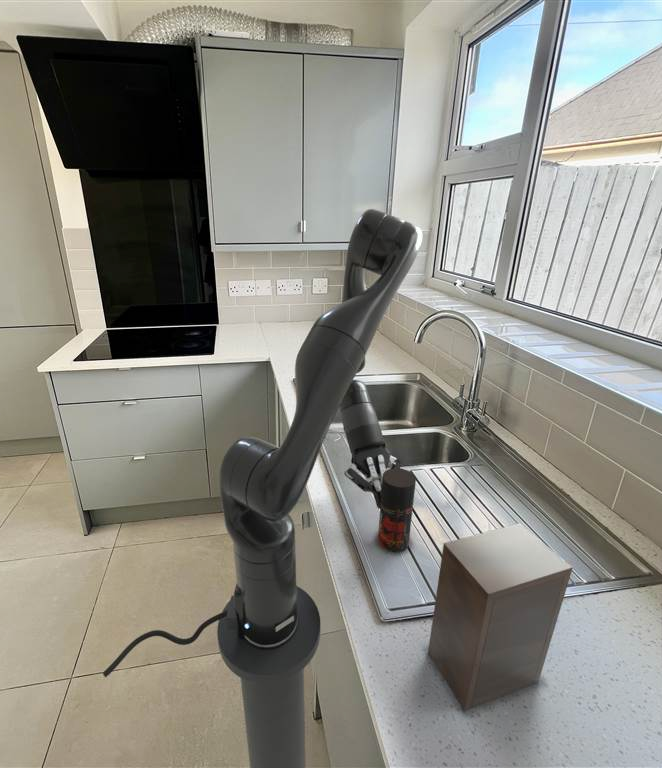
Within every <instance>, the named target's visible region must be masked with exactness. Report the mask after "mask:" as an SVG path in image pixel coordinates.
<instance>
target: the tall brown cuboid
mask: <svg viewBox="0 0 662 768" xmlns="http://www.w3.org/2000/svg"><path fill="white" fill-rule="evenodd" d="M572 572H573V566H571V565H570V564H569V563H568V562H567V561H566V560H564V559H563V558H562V557H561V556H560V555H559V554H557V553H556V552H555V551H554V550H553V549H551V548H550V547H549V546H548V545H547V544H545V543H544V542H543V541H542V540H541V539H539V537H537V536H535V534H534V533H533V532H531V531H530V530H529V529H528V528H526V527H525V526H524V525H523V524H521V522H518V523H515V524H514V523H513V524H511V525H506V526H504V527H499V528H496V529H492V530H488V531H485V532H480V533H477V534H473V535H470V536H466V537H462V538H459V539H454V540H451V541H448V542H444V543H443V547H442V554H441V560H440V567H439V573H438V575H439V576H438V579H437V580H438V581H437V587H436V593H435V594H436V595H435V602H434V608H433V616H432V623H431V629H430V635H429V643H428V650H427V653H428V655H429V657H430V658H431V660H432V661H433V663H434V665H435V666H436V668H437V670H438V671H439V673H440V674H441V676H442V678H443V679H444V681H445V682H446V684H447V686H448V687H449V689H450V691H451V692H452V694H453V696H454V697H455V699H456V700H457V702H458V704H459V705H460V707H461V708H462V710H463V712H466V711H468V710H472V709H473V708H476V707H479V706H481V705H484V704H485V703H488V702H492V701H494V700H496V699H498V698H502V697H503V696H506V695H509V694H511V693H514V692H516V691H518V690H520V689H523V688H525V687H526V688H527V687H528V686H530V685H533V684H536V683H538V682H539V681H540V678H541V674H542V671H543V668H544V665H545V662H546V658H547V655H548V652H549V648H550V645H551V642H552V638H553V635H554V632H555V628H556V625H557V621H558V618H559V616H560V611H561V608H562V605H563V602H564V599H565V596H566V592H567V589H568V585H569V581H570V578H571V575H572Z"/></svg>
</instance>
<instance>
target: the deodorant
mask: <svg viewBox="0 0 662 768" xmlns="http://www.w3.org/2000/svg"><path fill="white" fill-rule="evenodd" d="M416 482H417V478H416V475H414V473H412V472H411V471H410V470H408V469H404V468H401V467H400V468H392V469H390V468H389V469H386V471H385V472H384V473H383V478H382V491H381V504H380V509H379V519H378V532H377V533H378V534H377V542H378V544H379V546H380V547H381V548H382V549H383V550H385V551H386V552H389V553H394V554H399V553H403V552H405V551H407V549H408V548H409V545H410V544H409V543H410V537H411V536H410V535H411V527H412V517H413V508H414V500H415V493H416Z"/></svg>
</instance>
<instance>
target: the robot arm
mask: <svg viewBox="0 0 662 768" xmlns="http://www.w3.org/2000/svg"><path fill="white" fill-rule="evenodd" d="M422 243H423V232H422V230H421V228H420V227H418V226H417V225H415V224H413V223H411V222H409V221H407V220H404V219H402V218H399V217H397V216H394V215H392V214H388V213H387V212H383V211H381V210H377V209H374V208H369V209H366V210H365V211H363V213H362V214H361V215H360V216H359V218H358V220H357V222H356V223H355V226H354V227H353V230H352V232H351V234H350V238H349V242H348V246H347V250H346V251H347V252H346V260H345V265H344V266H345V267H344V268H345V269H344V275H343V285H342V286H343V287H342V295H341V303H339V304H337V305H335V306H334V307H332V308H330V309H329V310H327V311H326V312H324V313H323V314H321V315H320V316H319V317H318V318H317V319H316V320H315V322H314V323H313V325H312V326H311V328H310V330H309V331H308V334H307V335H306V337H305V339H304V341H303V343H302V344H301V346H300V349H299V350H298V352H297V355H296V358H295V363H294V364H295V365H294V381H295V382H294V383H295V384H294V385H295V399H296V400H295V412H294V416H293V419H292V422H291V425H290V427H289V429H288V432H287V434H286V435H285V437H284V439H283V442H282V443H281V445H280V446H278V445H275V444H273V443H271V442H269V441H266V440H264V439H261V438H258V437H254V436H246V437H242V438H240V439H238V440H236V441H235V442H233V444H231V445H230V446H229V447H228V449H227V450H226V451H225V454H224V455H223V458H222V460H221V463H220V467H219V472H218V489H219V496H220V502H221V509H222V514H223V521H224V526H225V529H226V531H227V534H228V535H229V537H230V539H231V541H232V547H233V559H234V567H235V576H236V577H235V578H236V584H235V587H234V591H233V595H231V596H230V599H229V601H230V604H229V607H228V610H226V611H224V612H222V611H221V612H220V613H218V614H216V615H213V616H212V617H210V618H208V619H207V620H205V621H204V622H202V624H200V625H199V626H198V628H197V629H196V630H195V632H194V633H193V634H192V635H191V636H190V637H187V638H181V637H177V635H176V636H175V635H174V634H172V633H169V632H168V631H165V630H161V629H154V630H150V631H147V632H145V633H143V634H140V636H138V637H136V638H135V639H134V640H133V641H132V642H130V643H129V644H128V645H127V646H126V647H125V648H124V649H123V650H122V651H121V653H120V654H118V656H117V658H116V659H115V660H114V661H113V662H112V663H111V664H110V665H109V666H108V667H107V668H106V669H105V670H104V671H103V672H102V675H103V677H104V678H107V677H108V676H109V675H111V673H113V671H114V670H116V669H117V667H118V666H119V665H120V664H121V662H122V661H124V660H125V658H126V657H127V656H128V654H129V653H130V652H131V651H132V650H134V649H135V647H137V646H138V645H139V644H140V643H142V642H143V641H145V640H147V639H150V638H153V637H161V638H163V639H166V640H168V641H170V642H172V643H174V644H175V645H176V644H177V645H179V646H187V645H190V644H193V643H194V642H195V641H196V640H198V638H199V636H200V635H201V633H202V632H203V631H204V630H205V629H206V628H207V627H209V626H210V625H212V624H214V623H215V622H219V620H220V619H222V618H224V617H226V625H227V629H237V631H238V638H239V639H245V640H246V641H247V642H248V643H249V644H250V645H251V646H253V647H255V648H258V649H263V650H271V649H275V648H278V647H281V646H283V645H284V644H286V643H287V642H288V641H289V640H290V639H291V638H292V637H293V635H294V634H295V632H296V629H297V625H298V614H297V592H296V586H297V560H296V559H297V556H296V530H295V528H296V527H295V524H294V523H295V522H294V520H293V519H292V517H291V515H290V513H291V512H292V511H293V509H295V507H296V505H297V504H298V503H299V501H300V499H301V497H302V495H303V494H304V491H305V489H306V487H307V484H308V482H309V479H310V477H311V475H312V472H313V469H314V467H315V465H316V462H317V459H318V457H319V454H320V452H321V449H322V447H323V444H324V442H325V439H326V437H327V434H328V431H329V430H330V427H331V425H332V422H333V420H334V418H335V415H336V414H337V412H338V410H339V412H340V417H341V423H342V427H343V432H344V433H345V434H344V435H345V437H346V441H347V445H348V448H349V452H350V454H351V459H350V461H351V464H350V466H349V467H348V469H346V470H345V471H344V473H343V475H344V476H345V477H346V478H347V479H349V480H350V481H351V482H352V483H354V485H356V486H357V487H358V488H359V489H360V490H361V491H362V492H364V493H366V492H368V493H371V494H372V495H373V498H374V501H375V505H376V508H377V509H378V510H380V504H381V491H382V478H383V473H384V472H385V471H386V470H388V469H387V468H388V467H389V469H392V468H400V469H401V467H402V464H403V460H402V458H400V457H399V458H398V457H397V458H396V457H394V456H393V455H391V453H390V451H389V450H388V449H387V447H386V441H385V438H384V435H383V432H382V428H381V426H380V425H381V424H380V423H379V422H380V421H379V419H378V416H377V412H376V410H375V408H374V407H373V404H372V401H371V398H370V394H369V391H368V388H367V386H366V383H365V382H364V381H362V380H357V379H355V377H356V375H357V374H358V373H361V372H362V370H363V369H364V368H365V366H366V355H367V353H368V351H369V348H370V346H371V344H372V343H373V342H372V341H373V340H374V337H375V335H376V333H377V330H378V328H379V326H380V324H381V322H382V319H383V318H384V316H385V314H386V312H387V310H388V309H389V306H390V304H391V303H392V301H393V299H394V298H395V296H396V294H397V292H398V291H399V289H400V287H401V285H402V284H403V282H404V280H405V278H406V277H407V275H408V273H409V271H410V270H411V268H412V266H413V265H414V262H415V261H416V259H417V257H418V254H419V252H420V249H421V248H422ZM365 270H366V271H370V272H372V273H373V274H376V275H379V278H377V280H376V281H375V282H374V283H372V285H370V286H369V287H367V284H366V279H365V278H366V277H365ZM359 473H361V474H362V475H363V476H364V477H365V478H364V477H363V476H362V475H361V474H359Z"/></svg>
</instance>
